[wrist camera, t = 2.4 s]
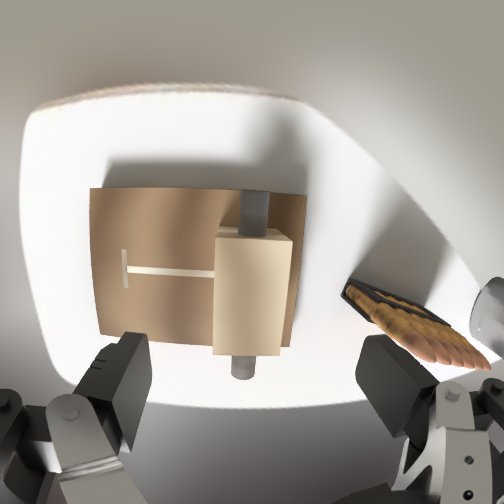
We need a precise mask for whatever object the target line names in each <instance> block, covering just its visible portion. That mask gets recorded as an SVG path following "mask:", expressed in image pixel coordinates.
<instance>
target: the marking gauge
mask: <svg viewBox="0 0 504 504" xmlns="http://www.w3.org/2000/svg"><path fill="white" fill-rule="evenodd" d="M269 194H270V192H268V191H255V190H241V196H240V212H239V227H235V226H219V227H218V231H217V234H216V240H215V265H214V301H213V355H232V366H231V374H232V376H233V377H235V378H237V379H240V380H247V379H250V378H252V377H253V376H254V374H255V363H256V356H279V355H280V347H281V340H282V333H283V325H284V317H285V309H286V300H287V292H288V283H289V274H290V264H291V255H292V244H293V241H291V240H290V239H289V238H288V237H286V236H285V235H284V234H282V233H281V232H280V231H279V230H277V229H270V228H267V221H268V208H269Z"/></svg>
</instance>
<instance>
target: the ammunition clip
mask: <svg viewBox="0 0 504 504" xmlns="http://www.w3.org/2000/svg"><path fill="white" fill-rule="evenodd" d="M341 297H342V298H343V299H344V300H345V301H346V302H347V303H348V304H350V305H351V306H352V307H353V308H354V309H355V310H356V311H357V312H358V313H359V314H360V315H362V316H363V317H364V318H365V319H366V320H367V321H368V322H371V323H374V324H376V325H378V326H379V327H380V328H381V329H382V330H383V331H384V332H385V333H386V334H387V335H388V336H389V337H391V338H392V339H394V340H396V341H398V342H399V343H400V344H401V345H403V346H404V347H406V348H407V349H408V350H409V351H410V352H411V353H413V354H414V355H416V356H417V357H419V358H421V359H423V360H425V361H428V362H433V363H435V362H436V361H437V362H439V363H441V364H445V365H451V364H452V365H454V366H458V367H463V366H464V367H466V368H472V369H473V368H475V369H479V370H482V369H483V370H488V371H490V370H491V366H490V364H489V362H488V361H487V359H486V358H485V357H484V356H483V355H482V354H481V353H480V352H479V351H478V350H477V349H476V348H474V346H472V345H471V344H470V343H469V342H468V341H467V340H466V338H465V337H463V336H462V335H461V334H459V333H458V332H456V331H455V330H454V329H452V328H451V325H450V324H448V323H447V322H445V321H444V320H442V319H441V318H439V317H438V316H437V315H435V314H434V313H432V312H431V311H429V310H428V309H426V308H425V307H423V306H421V305H418V304H416V303H413V302H411V301H408V300H406V299H403V298H401V297H398V296H396V295H393V294H390V293H388V292H385V291H383V290H380V289H378V288H375V287H373V286H370V285H368V284H365V283H362V282H360V281H357V280H355V279H352V278H349V279H348V281H347V283H346V286H345V288H344V290H343V292H342V294H341Z"/></svg>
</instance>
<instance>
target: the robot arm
mask: <svg viewBox="0 0 504 504" xmlns="http://www.w3.org/2000/svg"><path fill="white" fill-rule="evenodd" d="M470 332H471V335H472V337H474V338H475V339H476V340H478V341H479V342H481V343H482V344H483V345H485V346H486V347H488V348H489V349H490V350H492V351H493V352H494V353H496V354H497V355H499V356H500V357H501V358H503V359H504V279H503V278H500V277H495V278H492V279H491V280H490V281H489V282H488V283H487V284H486V285H485V287H484V288H483V290H482V291H481V293H480V295H479V297H478V299H477V301H476V303H475V306H474V309H473V312H472V316H471V321H470ZM355 376H356V381H357V383H358V385H359V386H360V388H361V389H362V391H363V392H364V394H365V395H366V397H367V398H368V400H369V401H370V403H371V404H372V406H373V407H374V409H375V410H376V412H377V413H378V415H379V417H380V418H381V419H382V421H383V423H384V424H385V426H386V427H387V429H388V430H389V432H390V433H391V435H392V437H393V438H397V437H400V436H403V435H407V436H408V438H407V440H406V441H405V444H404V448H403V453H402V458H401V463H400V467H399V471H398V475H397V479H396V482H395V484H394V486H393V488H392V489H391V490H390V488H389V486H388V484H387V483H384V484H381V485H378V486H375V487H372V488H369V489H366V490H362V491H359V492H356V493H352V494H350V495H348V496H346V497H344V498H342V499H340V500H338V501H336V502H334V503H332V504H504V451H503V452H502V453H501V454H500V452H499V451H498V450H497V449H496V447H495V446H494V445H493V444H492V443H491V441H490V440H489V436H488V433H487V430H488V429H489V427H490V426H491V424H492V423H493V421H494V420H495V421H496V422H497V423H498V424H499V425H500V427H502V429H503V430H504V382H503V381H501V380H499V379H495V378H488V379H486V380H484V382H483V384H482V386H481V387H480V389H479V391H474V392H468V390H467V389H466V388H465V387H463V386H462V385H460V384H458V383H456V382H451V381H445V382H441V383H440V382H439V381H438V380H437V379H436V378H435V377H434V376H433V375H432V374H431V373H430V372H429V371H428V370H427V369H426V368H425V367H424V366H423V365H420V363H419V362H418V361H417V360H416V359H414V357H413V356H412V355H411V354H410V353H409V352H408V351H407V350H405V349H403V348H401V347H400V346H398V345H397V344H396V343H395V342H394V341H393V340H392V339H391V338H390V337H388V336H387V335H386V334H381V335H370V336H367V337H366V338H365V340H364V343H363V347H362V350H361V354H360V357H359V360H358V364H357V367H356V372H355ZM151 382H152V367H151V360H150V352H149V343H148V337H147V334H145V333H136V332H128V331H126V332H124V334H123V335H122V337H121V339H120V340H119V342H118V343H117V344H115V343H110V344H109V345H107V346H106V347H104V348H103V349H101V350H100V352H99V353H98V355H97V356H96V358H95V361H93V362H92V364H91V365H90V368H88V370H87V371H86V373H85V374H84V376H83V377H82V379H81V381H80V382H79V384H78V385H77V387H76V388H75V390H74V392H73V393H72V394H63V395H60V396H57V397H56V398H54V399H53V400H51V401H50V402H49V404H48V405H47V407H43V406H31V405H25V404H24V403H23V400H22V398H21V397H20V395H19V394H18V393H17V392H16V391H13V390H11V389H0V504H46V502H47V499H48V496H49V492H50V489H51V486H52V483H53V480H54V477H55V474H56V472H57V473H59V474H58V479H59V483H60V486H61V489H62V491H63V494H64V496H65V498H66V501H67V503H68V504H147V502H146V501H145V499H144V498H143V496H142V495H141V493H140V492H139V491H138V489H137V488H136V486H135V485H134V483H133V482H132V480H131V478H130V477H129V475H128V473H127V472H126V470H125V469H124V467H123V465H122V464H121V462H120V460H119V459H118V458H117V457H118V453H119V451H122V452H127V453H131V451H132V447H133V443H134V440H135V436H136V432H137V429H138V425H139V422H140V419H141V416H142V412H143V409H144V406H145V402H146V399H147V396H148V393H149V390H150V387H151ZM12 452H14V453H15V456H14V458H13V460H12V462H11V464H10V467H9V469H8V471H7V473H6V476H5V478H4V480H3V473H4V470H5V468H6V465H7V463H8V461H9V459H10V457H11V455H12Z"/></svg>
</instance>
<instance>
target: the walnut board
mask: <svg viewBox="0 0 504 504" xmlns="http://www.w3.org/2000/svg"><path fill="white" fill-rule="evenodd" d="M240 196H241V190H223V189H200V188H157V187H128V188H90V208H89V221H90V251H91V266H92V278H93V287H94V296H95V303H96V310H97V317H98V323H99V329H100V334H102V335H108V336H115V337H122V335H123V334H124V332H126V331H128V332H136V333H145V334H147V337H148V341H155V342H165V343H177V344H190V345H206V346H213V301H214V265H215V240H216V234H217V231H218V227H219V226H235V227H239V212H240ZM306 199H307V196H304V195H293V194H282V193H270V194H269V208H268V221H267V228H270V229H277V230H279V231H280V232H281V233H282V234H284V235H285V236H286V237H288V238H289V239H290V240H291V241H293V244H292V255H291V264H290V274H289V283H288V292H287V300H286V309H285V317H284V325H283V333H282V340H281V347H289V346H290V339H291V332H292V325H293V318H294V311H295V303H296V296H297V288H298V280H299V271H300V262H301V253H302V243H303V233H304V222H305V211H306Z"/></svg>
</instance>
